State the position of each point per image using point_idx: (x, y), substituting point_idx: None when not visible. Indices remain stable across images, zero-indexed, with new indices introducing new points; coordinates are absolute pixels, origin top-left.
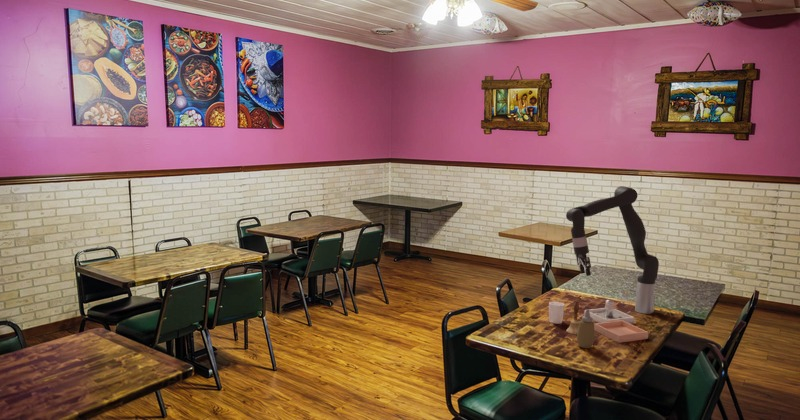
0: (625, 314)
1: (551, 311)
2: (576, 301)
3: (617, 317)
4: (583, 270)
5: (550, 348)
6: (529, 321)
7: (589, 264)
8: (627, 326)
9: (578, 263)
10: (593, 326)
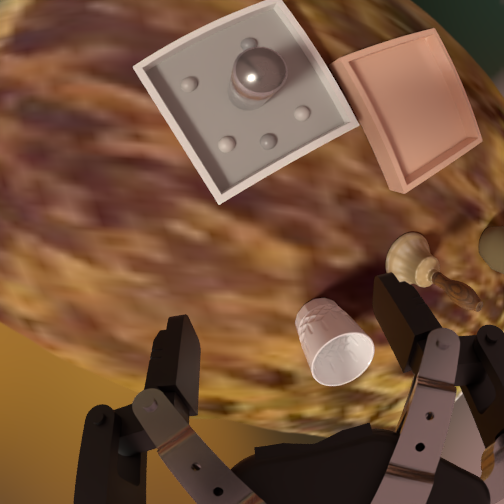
0: (238, 18)
1: (348, 357)
2: (480, 308)
3: None
4: (187, 347)
5: (485, 317)
6: (325, 386)
7: (501, 371)
8: (367, 55)
9: (143, 453)
10: None
